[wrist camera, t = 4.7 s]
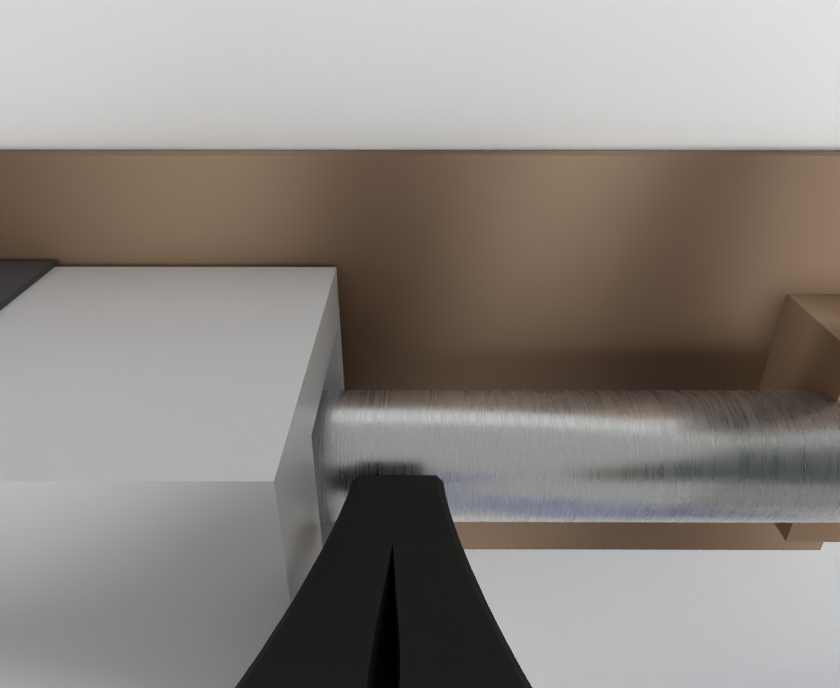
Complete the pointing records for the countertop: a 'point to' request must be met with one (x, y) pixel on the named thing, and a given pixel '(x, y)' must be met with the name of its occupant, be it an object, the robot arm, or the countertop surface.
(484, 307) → the pipe stand
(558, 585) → the countertop surface
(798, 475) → the pipe
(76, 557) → the sleeve
